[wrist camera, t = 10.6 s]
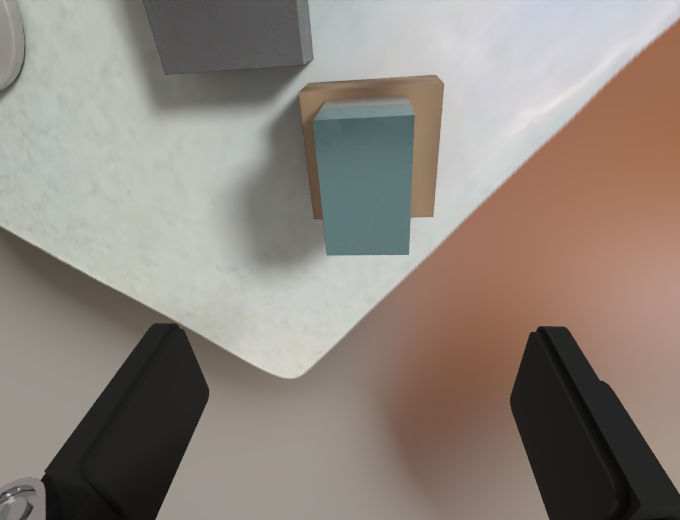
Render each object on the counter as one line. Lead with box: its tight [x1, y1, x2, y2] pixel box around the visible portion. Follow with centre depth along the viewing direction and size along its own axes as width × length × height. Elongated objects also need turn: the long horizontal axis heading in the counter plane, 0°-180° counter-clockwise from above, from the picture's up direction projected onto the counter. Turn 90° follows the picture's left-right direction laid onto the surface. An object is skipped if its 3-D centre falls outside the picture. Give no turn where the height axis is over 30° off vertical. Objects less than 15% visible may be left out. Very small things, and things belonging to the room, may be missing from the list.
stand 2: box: [299, 75, 444, 219], centre depth 26 cm, size 9×9×4 cm
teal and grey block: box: [313, 94, 415, 255], centre depth 22 cm, size 8×5×6 cm, turn 4°
